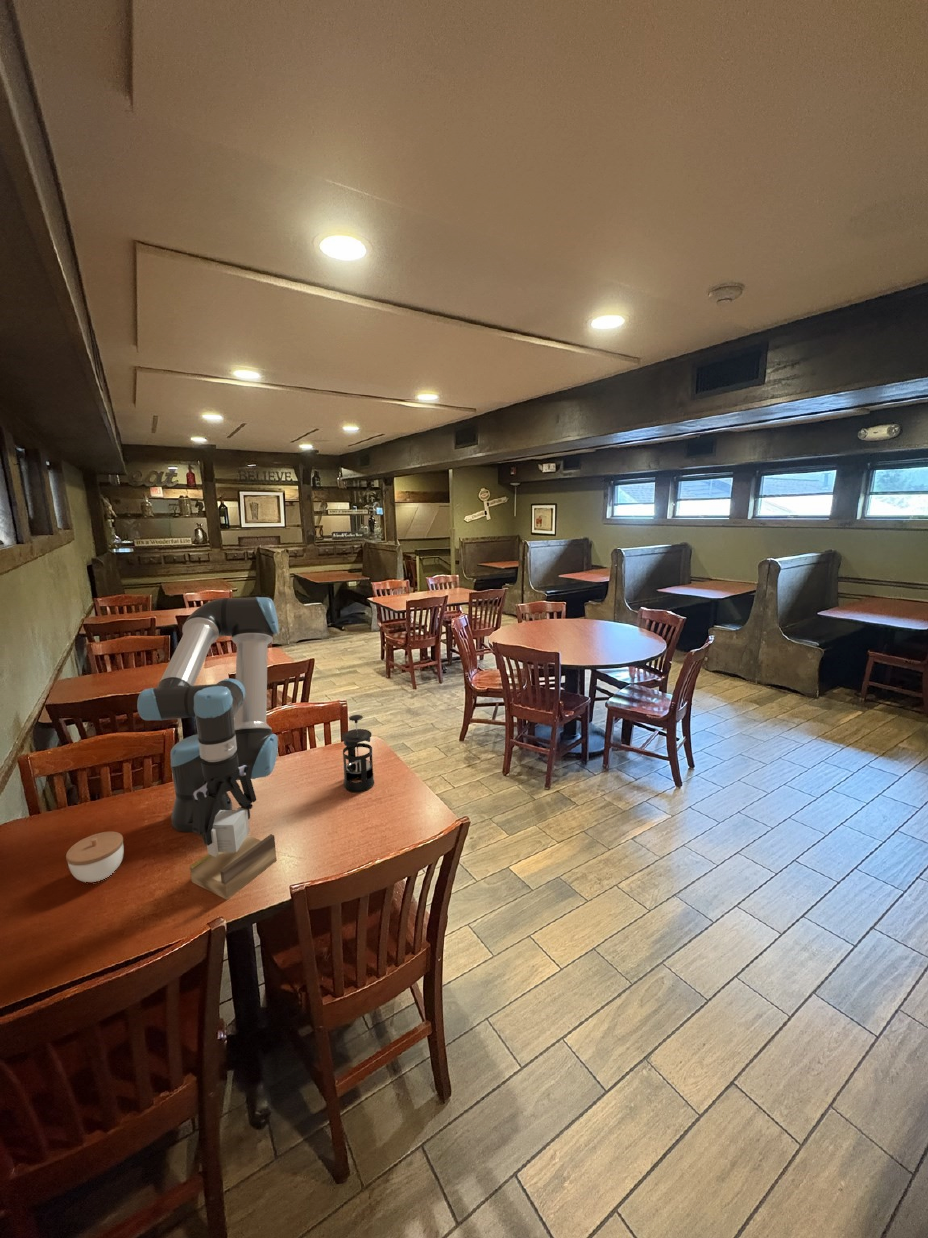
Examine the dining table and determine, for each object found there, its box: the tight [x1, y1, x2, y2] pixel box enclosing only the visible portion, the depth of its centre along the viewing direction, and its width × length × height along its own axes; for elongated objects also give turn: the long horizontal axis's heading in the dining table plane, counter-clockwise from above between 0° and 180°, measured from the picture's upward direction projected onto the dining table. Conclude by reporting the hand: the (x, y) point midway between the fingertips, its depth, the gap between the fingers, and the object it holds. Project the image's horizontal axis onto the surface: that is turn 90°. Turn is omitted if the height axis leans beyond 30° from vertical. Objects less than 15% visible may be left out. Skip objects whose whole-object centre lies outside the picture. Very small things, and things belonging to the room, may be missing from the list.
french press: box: [341, 714, 375, 794], centre depth 152 cm, size 12×9×23 cm
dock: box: [189, 833, 277, 901], centre depth 116 cm, size 12×14×7 cm
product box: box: [213, 809, 247, 853], centre depth 115 cm, size 6×6×7 cm
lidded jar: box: [65, 831, 125, 883], centre depth 115 cm, size 11×11×9 cm
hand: (229, 843), depth 115 cm, fingers closed on product box, 8 cm apart
